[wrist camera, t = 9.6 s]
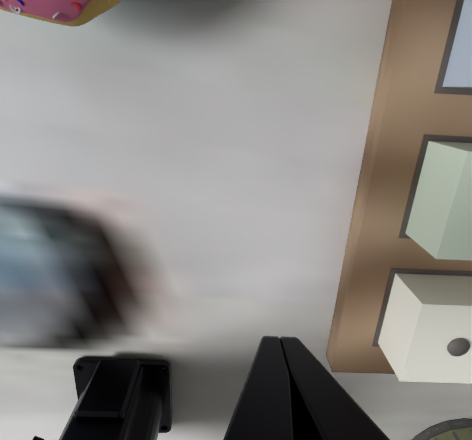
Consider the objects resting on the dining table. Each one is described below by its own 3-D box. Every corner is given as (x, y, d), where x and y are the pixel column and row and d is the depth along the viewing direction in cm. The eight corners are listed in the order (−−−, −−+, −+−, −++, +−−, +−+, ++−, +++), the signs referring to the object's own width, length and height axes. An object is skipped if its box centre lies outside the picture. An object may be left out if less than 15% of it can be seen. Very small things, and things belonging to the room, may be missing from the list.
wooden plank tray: (467, 359, 24) (482, 377, 22) (326, 355, 24) (332, 372, 22) (636, -87, 15) (679, -106, 13) (411, -104, 15) (431, -125, 13)
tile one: (455, 345, 22) (490, 386, 19) (377, 342, 21) (400, 383, 18) (480, 276, 20) (523, 309, 17) (395, 273, 20) (424, 305, 17)
